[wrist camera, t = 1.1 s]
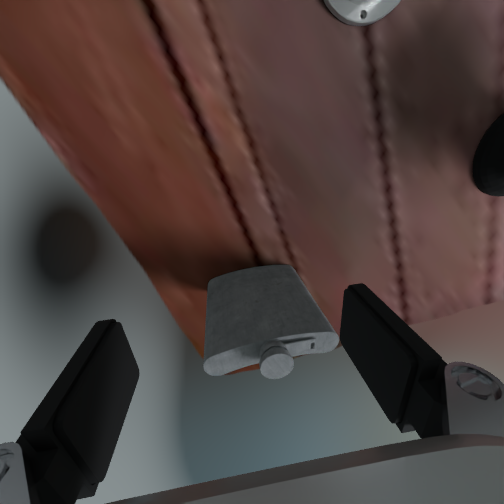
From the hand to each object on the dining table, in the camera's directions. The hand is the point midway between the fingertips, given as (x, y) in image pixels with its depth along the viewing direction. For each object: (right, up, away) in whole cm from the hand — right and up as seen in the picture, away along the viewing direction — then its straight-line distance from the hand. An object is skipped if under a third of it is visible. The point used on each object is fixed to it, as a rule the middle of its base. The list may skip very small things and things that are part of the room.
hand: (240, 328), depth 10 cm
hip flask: (0, -1, +33) cm, 33 cm away
